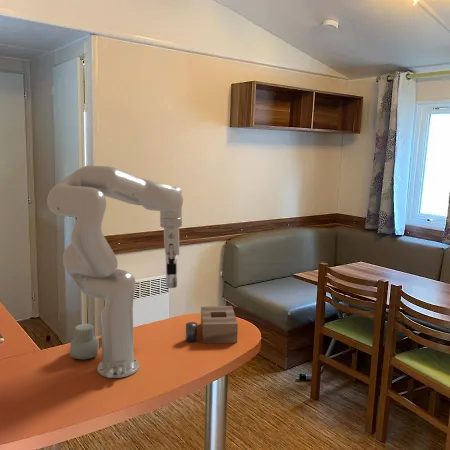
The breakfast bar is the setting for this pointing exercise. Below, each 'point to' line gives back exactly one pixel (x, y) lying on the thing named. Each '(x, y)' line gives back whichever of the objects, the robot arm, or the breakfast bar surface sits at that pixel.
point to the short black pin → (191, 332)
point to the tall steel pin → (171, 279)
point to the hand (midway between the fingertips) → (171, 271)
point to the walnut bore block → (218, 324)
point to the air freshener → (84, 342)
